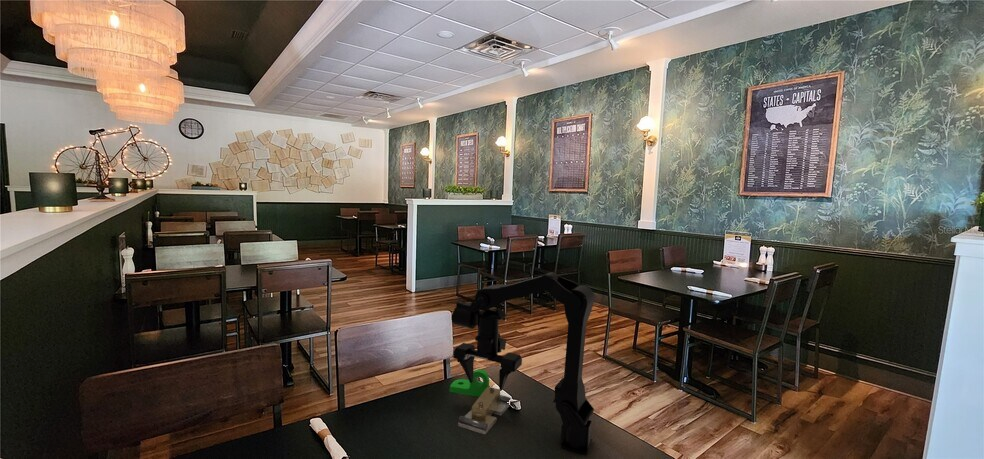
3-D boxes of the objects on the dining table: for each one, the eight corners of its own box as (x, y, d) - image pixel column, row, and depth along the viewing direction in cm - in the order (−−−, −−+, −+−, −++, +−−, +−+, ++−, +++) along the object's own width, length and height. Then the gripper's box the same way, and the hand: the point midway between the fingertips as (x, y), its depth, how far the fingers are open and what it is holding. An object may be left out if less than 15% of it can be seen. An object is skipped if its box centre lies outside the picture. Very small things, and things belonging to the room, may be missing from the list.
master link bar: (499, 402, 120) (500, 387, 120) (485, 424, 109) (485, 407, 108) (486, 399, 121) (487, 384, 121) (471, 420, 110) (471, 404, 110)
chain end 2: (510, 404, 121) (511, 396, 121) (501, 415, 115) (501, 407, 115) (486, 397, 125) (486, 390, 124) (475, 408, 118) (475, 400, 118)
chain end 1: (496, 421, 112) (496, 412, 112) (485, 434, 106) (485, 425, 106) (470, 413, 116) (470, 405, 115) (458, 426, 109) (458, 417, 109)
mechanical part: (492, 389, 130) (492, 365, 130) (487, 398, 125) (487, 373, 124) (456, 383, 133) (456, 360, 133) (449, 392, 128) (450, 367, 127)
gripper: (530, 329, 116) (527, 382, 118) (471, 318, 124) (470, 368, 126) (515, 341, 106) (512, 399, 108) (452, 329, 114) (451, 383, 116)
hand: (486, 386), depth 115 cm, fingers open, 9 cm apart
